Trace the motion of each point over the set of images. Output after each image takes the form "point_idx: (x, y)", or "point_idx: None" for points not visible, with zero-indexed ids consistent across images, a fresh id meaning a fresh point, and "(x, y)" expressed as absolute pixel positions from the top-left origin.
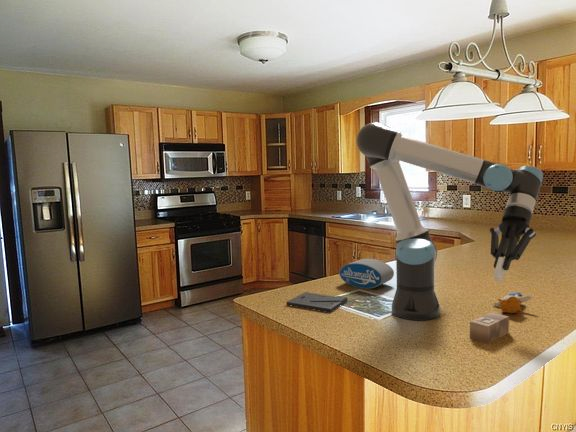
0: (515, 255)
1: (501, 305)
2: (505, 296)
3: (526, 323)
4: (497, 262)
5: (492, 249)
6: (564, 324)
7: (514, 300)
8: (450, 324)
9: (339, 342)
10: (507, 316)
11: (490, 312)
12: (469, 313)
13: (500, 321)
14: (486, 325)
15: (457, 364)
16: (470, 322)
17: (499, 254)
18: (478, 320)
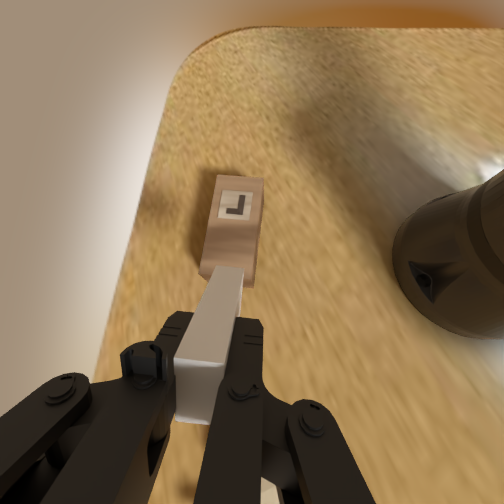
0: (53, 382)
1: None
2: (277, 501)
3: None
4: (230, 321)
5: (339, 480)
6: None
7: None
8: (339, 245)
9: (426, 44)
10: (201, 271)
11: (250, 273)
12: (351, 366)
13: (207, 230)
14: (222, 178)
15: (232, 99)
16: (262, 178)
17: (224, 394)
18: (248, 191)
